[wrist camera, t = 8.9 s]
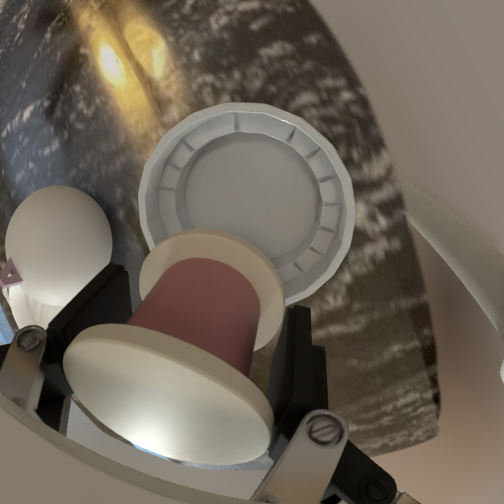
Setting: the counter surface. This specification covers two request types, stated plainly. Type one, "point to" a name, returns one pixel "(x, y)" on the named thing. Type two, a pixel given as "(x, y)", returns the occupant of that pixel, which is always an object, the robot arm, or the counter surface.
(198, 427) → the spool
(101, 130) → the counter surface
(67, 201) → the ornament
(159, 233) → the bowl
